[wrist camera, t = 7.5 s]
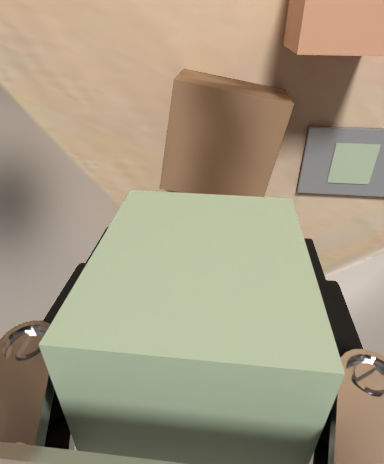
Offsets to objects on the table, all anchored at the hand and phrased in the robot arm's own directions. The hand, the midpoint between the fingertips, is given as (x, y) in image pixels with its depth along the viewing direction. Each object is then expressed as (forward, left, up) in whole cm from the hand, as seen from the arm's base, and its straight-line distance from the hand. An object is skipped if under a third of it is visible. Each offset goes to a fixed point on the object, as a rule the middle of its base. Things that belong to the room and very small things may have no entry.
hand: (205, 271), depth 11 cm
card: (-10, +2, -16) cm, 19 cm away
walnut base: (0, 0, -17) cm, 17 cm away
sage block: (0, 0, -1) cm, 1 cm away
